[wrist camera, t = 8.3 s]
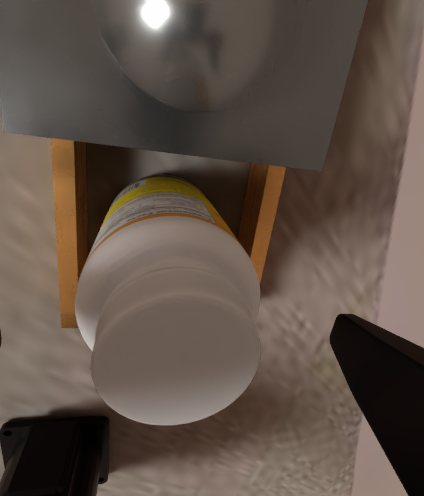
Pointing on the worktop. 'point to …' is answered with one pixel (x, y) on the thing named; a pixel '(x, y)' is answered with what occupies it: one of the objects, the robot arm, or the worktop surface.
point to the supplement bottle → (168, 306)
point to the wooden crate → (175, 94)
